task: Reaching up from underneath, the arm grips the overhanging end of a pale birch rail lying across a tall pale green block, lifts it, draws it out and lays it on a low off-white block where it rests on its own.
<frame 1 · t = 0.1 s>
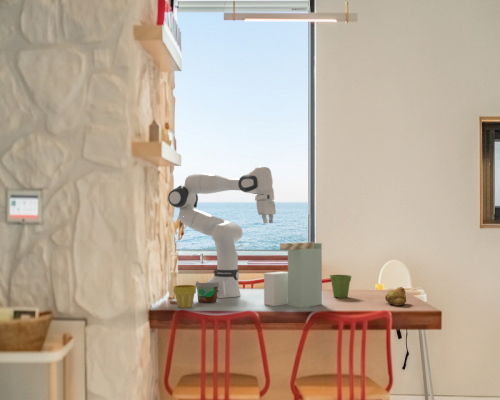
hand: (268, 223, 269), 39 cm above the table, tool pointing down, fingers open, 8 cm apart
rail: (297, 249, 245), point 27 cm above the table, touching pale green block
plant pot: (184, 307, 242), on the table
pale green block: (304, 304, 247), on the table
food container: (205, 303, 254), on the table
plant pot 2: (340, 297, 271), on the table
bread roll: (395, 305, 249), on the table
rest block: (278, 303, 251), on the table
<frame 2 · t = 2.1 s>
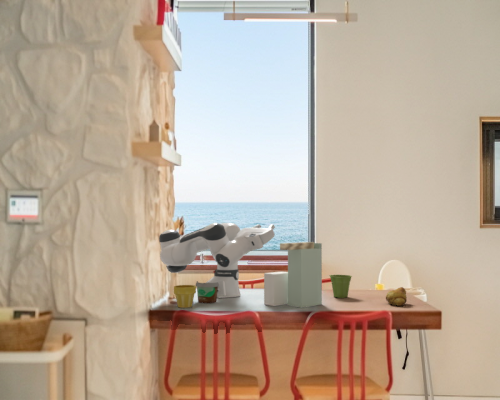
hand: (266, 225, 237), 38 cm above the table, tool pointing upward, fingers open, 8 cm apart
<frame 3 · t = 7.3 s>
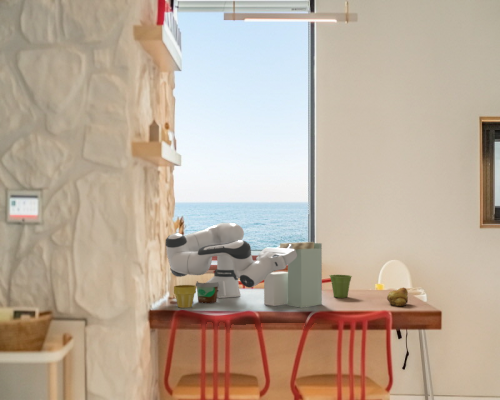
hand: (288, 245, 241), 29 cm above the table, tool pointing upward, fingers closed on rail, 3 cm apart
rail: (297, 249, 245), point 27 cm above the table, touching gripper, pale green block
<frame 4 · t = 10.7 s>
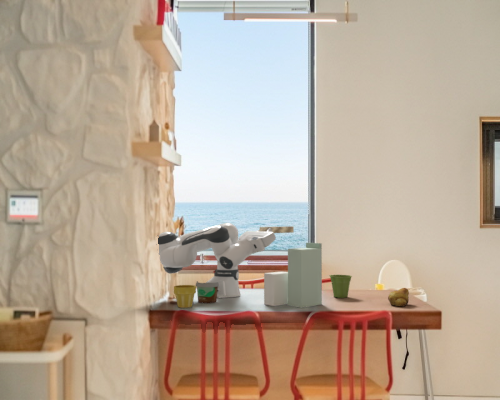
hand: (267, 229, 247), 36 cm above the table, tool pointing upward, fingers closed on rail, 3 cm apart
rail: (276, 232, 251), point 35 cm above the table, touching gripper
when the fingers open (19 cm above the table, at t = 14.4 s): rail drops 2 cm, resting on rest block.
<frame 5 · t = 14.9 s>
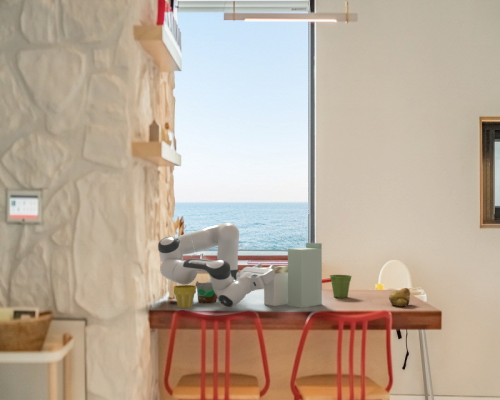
hand: (267, 265, 247), 19 cm above the table, tool pointing upward, fingers open, 8 cm apart
rail: (276, 273, 251), point 15 cm above the table, touching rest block
plant pot: (184, 307, 242), on the table, touching arm
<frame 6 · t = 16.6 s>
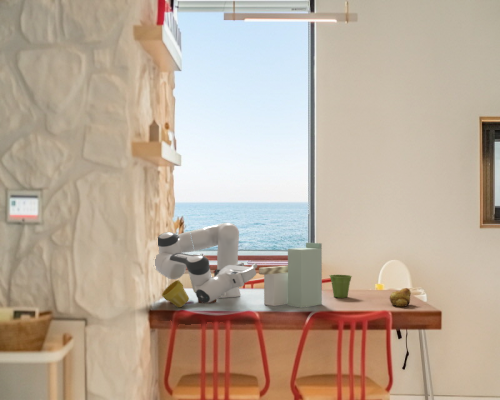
hand: (249, 264, 240), 20 cm above the table, tool pointing upward, fingers open, 8 cm apart
plant pot: (183, 302, 242), point 2 cm above the table, touching arm
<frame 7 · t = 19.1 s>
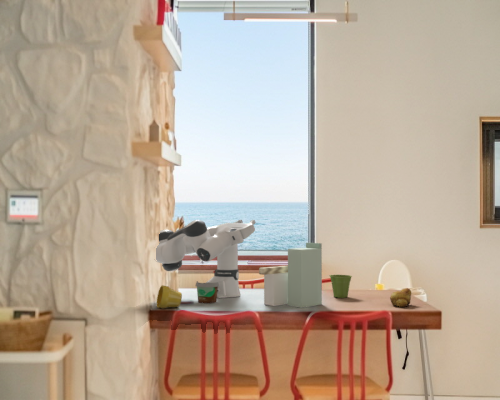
hand: (247, 221, 242), 40 cm above the table, tool pointing upward, fingers open, 8 cm apart
plant pot: (180, 299, 242), point 3 cm above the table
at the end: rail inside the target area on the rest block (0.8 cm from its centre), point 15.0 cm above the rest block's base; rail touching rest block; the gripper is holding nothing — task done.
